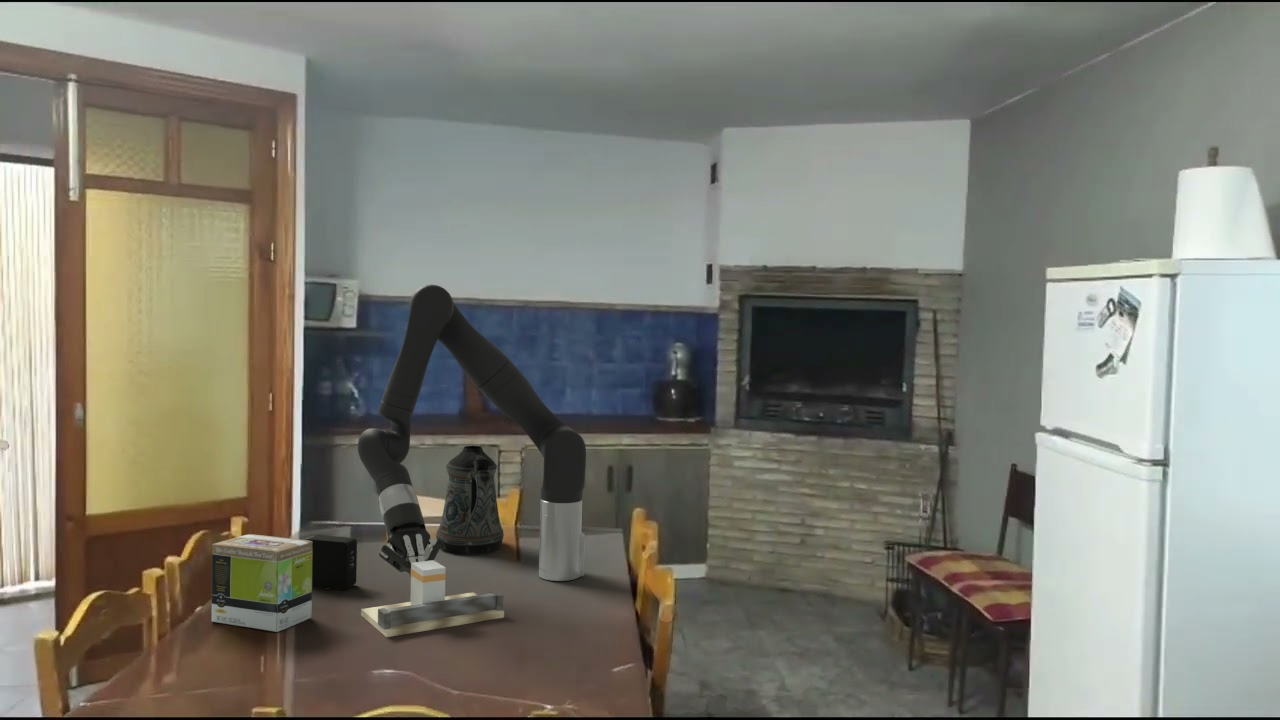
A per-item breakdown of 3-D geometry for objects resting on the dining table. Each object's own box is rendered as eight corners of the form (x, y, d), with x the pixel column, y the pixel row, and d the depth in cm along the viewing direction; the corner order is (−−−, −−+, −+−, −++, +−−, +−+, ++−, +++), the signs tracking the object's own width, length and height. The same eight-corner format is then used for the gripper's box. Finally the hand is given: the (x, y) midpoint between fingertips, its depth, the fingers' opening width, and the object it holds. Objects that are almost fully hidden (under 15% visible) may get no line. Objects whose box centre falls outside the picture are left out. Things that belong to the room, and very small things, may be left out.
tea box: (313, 617, 175) (315, 539, 175) (276, 634, 166) (277, 551, 165) (248, 607, 180) (249, 531, 180) (208, 622, 171) (209, 542, 170)
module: (431, 605, 181) (432, 559, 181) (444, 615, 176) (445, 567, 175) (409, 609, 178) (410, 562, 178) (421, 618, 173) (422, 570, 173)
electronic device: (346, 590, 193) (347, 542, 192) (302, 586, 195) (303, 538, 194) (356, 585, 197) (357, 538, 197) (313, 581, 199) (313, 534, 199)
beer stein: (470, 535, 244) (473, 440, 243) (525, 548, 233) (528, 448, 232) (421, 547, 231) (423, 446, 230) (477, 561, 219) (480, 454, 218)
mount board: (474, 597, 191) (474, 578, 191) (504, 617, 179) (505, 596, 179) (359, 615, 177) (360, 594, 177) (385, 637, 166) (385, 615, 166)
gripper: (373, 504, 183) (393, 581, 174) (437, 498, 191) (460, 572, 181) (364, 525, 188) (383, 602, 178) (427, 519, 195) (448, 592, 186)
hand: (422, 587), depth 180 cm, fingers closed
